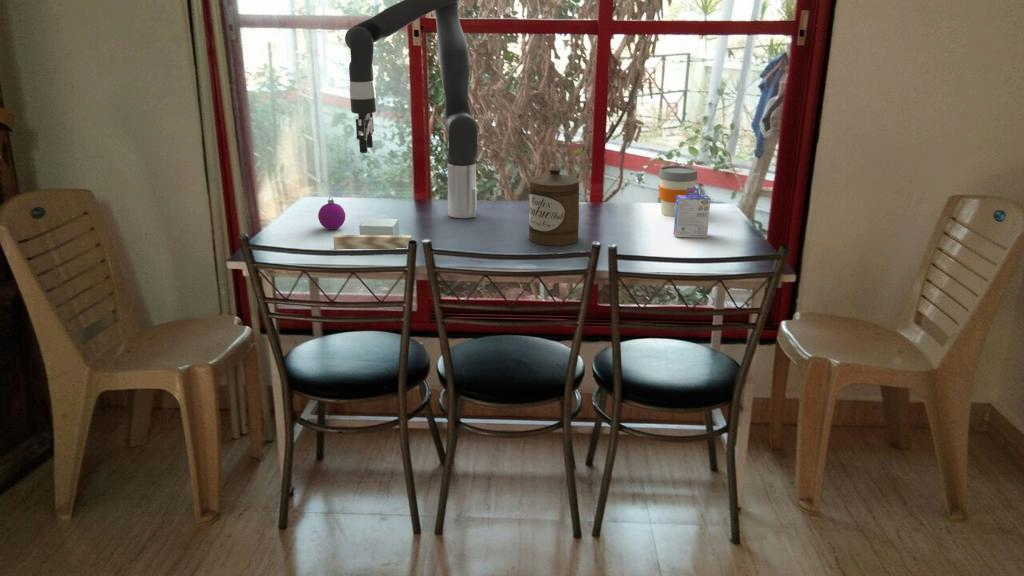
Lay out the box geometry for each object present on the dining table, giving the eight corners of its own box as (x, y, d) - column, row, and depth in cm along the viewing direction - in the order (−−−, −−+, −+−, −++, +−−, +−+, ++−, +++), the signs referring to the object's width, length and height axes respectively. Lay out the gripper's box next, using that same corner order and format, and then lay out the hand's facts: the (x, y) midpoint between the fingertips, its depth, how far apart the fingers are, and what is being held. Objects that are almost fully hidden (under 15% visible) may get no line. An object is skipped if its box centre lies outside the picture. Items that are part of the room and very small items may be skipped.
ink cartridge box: (704, 233, 258) (708, 187, 253) (708, 238, 252) (712, 191, 247) (672, 232, 258) (675, 186, 253) (675, 238, 252) (679, 191, 247)
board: (412, 248, 239) (411, 235, 238) (411, 251, 237) (410, 237, 236) (335, 248, 239) (334, 234, 238) (334, 250, 237) (333, 236, 236)
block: (399, 235, 253) (398, 219, 251) (393, 242, 246) (392, 226, 244) (366, 234, 254) (365, 218, 252) (360, 241, 246) (359, 225, 244)
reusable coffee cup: (648, 212, 280) (651, 168, 275) (673, 207, 288) (677, 164, 283) (676, 220, 271) (679, 175, 266) (701, 214, 278) (705, 170, 273)
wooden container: (518, 239, 250) (519, 166, 242) (549, 229, 260) (551, 159, 253) (557, 249, 241) (559, 174, 233) (587, 238, 251) (591, 166, 244)
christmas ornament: (316, 232, 254) (313, 200, 251) (323, 225, 262) (321, 193, 259) (342, 232, 254) (340, 200, 251) (348, 225, 262) (347, 194, 258)
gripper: (370, 99, 244) (374, 154, 249) (379, 93, 257) (382, 145, 263) (345, 99, 244) (349, 154, 250) (355, 93, 257) (359, 145, 263)
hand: (366, 150), depth 256 cm, fingers open, 8 cm apart
